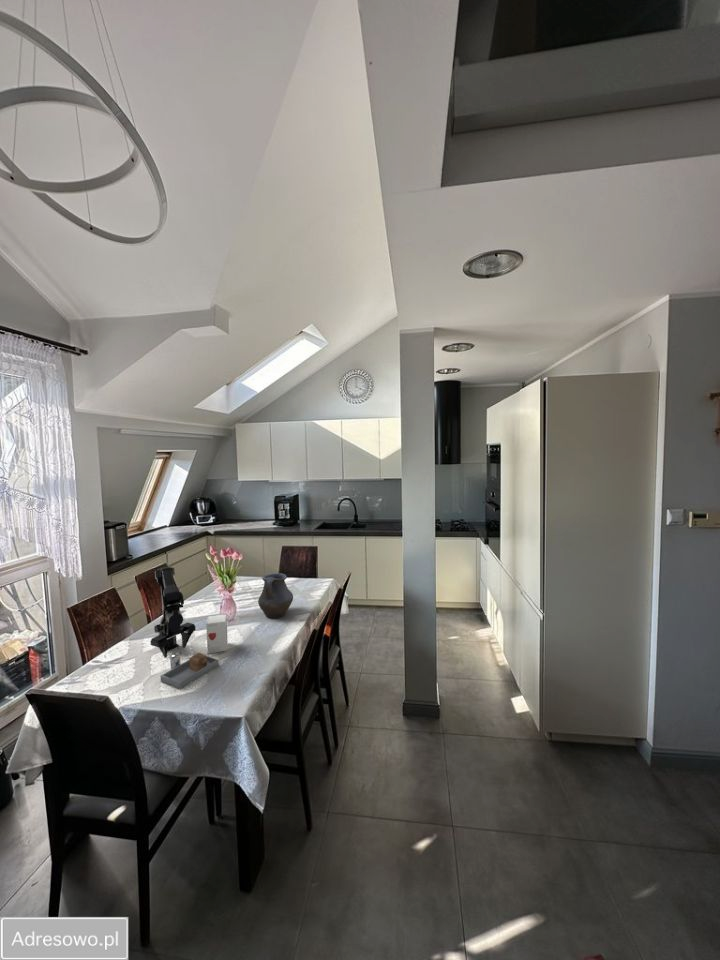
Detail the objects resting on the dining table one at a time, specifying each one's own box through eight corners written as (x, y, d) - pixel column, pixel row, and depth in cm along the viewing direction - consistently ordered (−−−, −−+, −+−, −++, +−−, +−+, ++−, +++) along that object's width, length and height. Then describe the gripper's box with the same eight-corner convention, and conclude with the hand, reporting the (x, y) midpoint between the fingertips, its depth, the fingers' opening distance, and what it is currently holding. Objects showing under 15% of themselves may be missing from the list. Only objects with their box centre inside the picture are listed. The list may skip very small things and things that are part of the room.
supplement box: (206, 654, 185) (205, 623, 184) (208, 645, 194) (207, 616, 193) (227, 651, 188) (225, 621, 187) (228, 642, 196) (226, 613, 195)
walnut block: (199, 663, 176) (198, 652, 176) (206, 665, 174) (206, 655, 173) (189, 668, 171) (189, 657, 171) (197, 671, 169) (197, 660, 169)
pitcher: (297, 608, 238) (296, 568, 237) (287, 623, 217) (286, 580, 215) (265, 608, 240) (263, 568, 239) (252, 623, 219) (250, 579, 217)
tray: (200, 659, 181) (200, 653, 180) (218, 665, 175) (218, 659, 175) (160, 681, 163) (160, 675, 163) (179, 689, 157) (179, 682, 157)
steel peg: (176, 664, 176) (176, 651, 176) (182, 666, 175) (181, 653, 174) (168, 669, 173) (168, 655, 173) (174, 671, 171) (173, 658, 171)
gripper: (179, 608, 184) (181, 640, 185) (141, 623, 168) (143, 658, 169) (195, 612, 179) (197, 645, 180) (157, 628, 163) (159, 664, 164)
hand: (174, 652), depth 173 cm, fingers open, 9 cm apart
